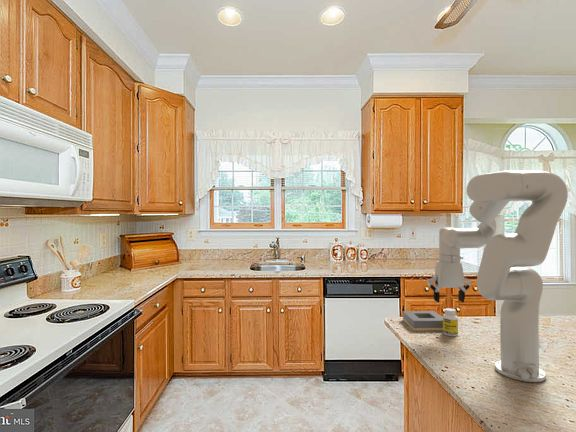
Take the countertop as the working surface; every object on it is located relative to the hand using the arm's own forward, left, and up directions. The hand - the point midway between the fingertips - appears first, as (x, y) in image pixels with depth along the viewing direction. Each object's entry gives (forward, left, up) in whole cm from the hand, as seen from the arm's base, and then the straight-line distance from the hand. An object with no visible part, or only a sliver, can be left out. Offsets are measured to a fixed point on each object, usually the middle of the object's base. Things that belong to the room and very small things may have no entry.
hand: (449, 301), depth 135 cm
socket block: (+8, +9, -13) cm, 18 cm away
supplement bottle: (-1, 0, -13) cm, 13 cm away
